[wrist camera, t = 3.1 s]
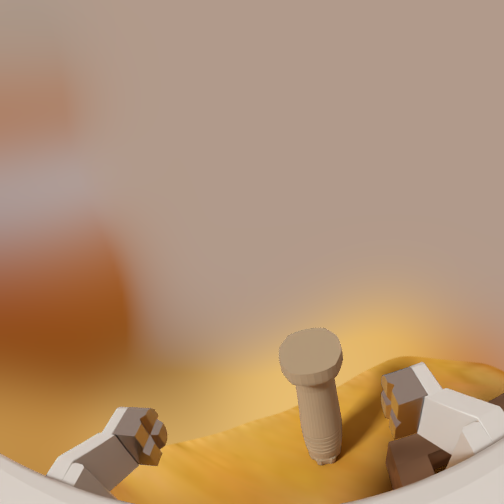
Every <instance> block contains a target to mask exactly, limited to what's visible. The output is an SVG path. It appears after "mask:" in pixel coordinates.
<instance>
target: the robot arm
mask: <svg viewBox="0 0 504 504" xmlns="http://www.w3.org/2000/svg"><path fill="white" fill-rule="evenodd" d="M381 385H382V387H383V389H384V390H383V391H382V393H381V404H382V409H383V413H384V415H385V418H387V419H389V428H390V430H391V433H392V435H393V438H394V440H396V439H399V438H402V437H405V436H408V435H411V434H414V433H417V432H418V433H417V434H419V435H421V436H422V437H424V438H425V439H427V440H428V441H430V442H432V443H433V444H435V445H436V446H438V447H440V448H441V449H443V450H445V451H446V452H448V453H449V454H451V455H452V456H451V458H450V460H449V463H448V465H447V467H446V469H445V470H444V471H441V472H439V473H437V474H434V475H432V476H430V477H427V478H425V479H422V480H420V481H417V482H415V483H412V484H409V485H406V486H403V487H401V488H398V489H395V490H391V491H388V492H385V493H382V494H378V495H375V496H371V497H368V498H364V499H360V500H356V501H351V502H347V503H342V504H504V411H503V410H502V409H501V407H500V406H497V405H494V404H491V403H488V402H485V401H482V400H479V399H476V398H473V397H470V396H467V395H465V394H462V393H459V392H456V391H453V390H451V389H448V388H445V389H442V387H441V386H440V385H439V383H438V382H437V380H436V379H435V377H434V376H433V375H432V373H431V372H430V370H429V369H428V368H427V366H426V365H425V364H424V363H423V362H421V363H418V364H415V365H412V366H410V367H407V368H404V369H401V370H398V371H395V372H392V373H389V374H386V375H382V379H381ZM157 418H158V414H157V413H156V411H155V410H154V409H151V408H135V407H119V408H117V409H116V411H115V412H114V414H113V416H112V417H111V419H110V420H109V422H108V424H107V425H106V427H105V428H104V430H103V432H102V433H98V434H96V435H94V436H93V437H91V438H89V439H88V440H86V441H84V442H83V443H81V444H80V445H78V446H76V447H74V448H73V449H71V450H69V451H67V452H66V453H64V454H62V455H60V456H59V457H58V458H57V459H56V461H55V462H54V464H53V466H52V467H51V468H50V470H49V472H48V473H47V475H46V476H44V475H42V474H40V473H38V472H35V471H33V470H31V469H29V468H27V467H25V466H23V465H21V464H19V463H17V462H15V461H13V460H11V459H9V458H7V457H5V456H4V455H2V454H0V504H133V503H129V502H124V501H120V500H117V498H116V497H115V496H114V495H113V494H111V493H110V491H111V490H112V489H113V488H114V487H115V486H116V485H118V484H119V483H120V482H121V481H122V480H123V479H124V478H125V477H127V476H128V475H129V474H130V473H131V472H132V471H133V470H134V469H135V468H137V467H138V466H139V465H138V464H140V465H151V466H158V463H159V460H160V458H161V455H162V452H161V450H160V449H161V448H162V447H164V446H165V444H166V441H167V431H166V427H165V426H164V424H163V423H162V422H161V421H159V420H158V419H157Z"/></svg>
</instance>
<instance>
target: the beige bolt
mask: <svg viewBox="0 0 504 504" xmlns="http://www.w3.org/2000/svg"><path fill="white" fill-rule="evenodd" d="M279 361H280V366H281V370H282V373H283V374H284V376H285V377H286V378H287V379H288V381H289V382H291V383H292V384H293V385H296V390H297V397H298V404H299V413H300V421H301V428H302V433H303V437H304V440H305V443H306V446H307V449H308V451H309V454H310V457H311V458H312V459H314V460H316V461H317V463H318V465H324V464H327V463H331V464H332V463H334V462H335V461H336V457H337V456H338V455H339V454H340V452H341V442H342V419H341V413H340V407H339V402H338V396H337V391H336V385H335V379H334V378H335V377H336V376H337V374H338V373H339V371H340V368H341V365H342V361H343V356H342V349H341V344H340V341H339V339H338V337H337V336H336V335H335V334H334V333H332V332H331V331H329V330H327V329H325V328H311V329H305V330H301V331H298V332H295V333H293V334H290V335H289V336H287V338H286V339H285V340H284V342H283V343H282V344H281V346H280V348H279Z"/></svg>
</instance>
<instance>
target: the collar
mask: <svg viewBox="0 0 504 504" xmlns="http://www.w3.org/2000/svg"><path fill="white" fill-rule="evenodd" d="M488 403H491V404H494V405H497V406H500V407H501V409H502V410H503V411H504V393H503V394H502V395H500V396H498V397H496V398H495V399H493V400H491V401H489V402H488ZM451 456H452V455H451V454H449V453H448V452H446V451H445V450H443V449H441V448H440V447H438V446H436V445H435V444H433V443H432V442H430V441H428V440H427V439H425V438H424V437H422V436H421V435H419V434H417V433H416V434H413V435H410V436H407V437H404V438H401V439H398V440H394V441H391V442H389V444H388V451H387V457H386V466H387V470H388V473H389V477H390V481H391V484H392V488H393V490H395V489H398V488H401V487H403V486H406V485H409V484H412V483H415V482H417V481H420V480H422V479H425V478H427V477H430V476H432V475H434V474H435V473H434V469H437V468H439V467H441V466H444V465H446V464H448V463H449V460H450V458H451Z"/></svg>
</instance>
